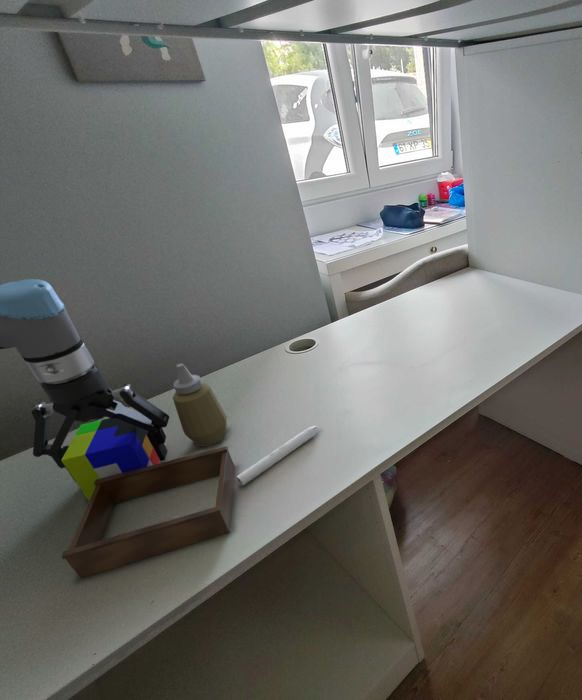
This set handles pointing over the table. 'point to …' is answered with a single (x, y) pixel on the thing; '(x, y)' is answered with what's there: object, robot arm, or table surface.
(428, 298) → the table surface
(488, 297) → the table surface
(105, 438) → the puzzle toy
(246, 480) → the marker
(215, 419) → the squeeze bottle
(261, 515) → the table surface
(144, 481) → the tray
